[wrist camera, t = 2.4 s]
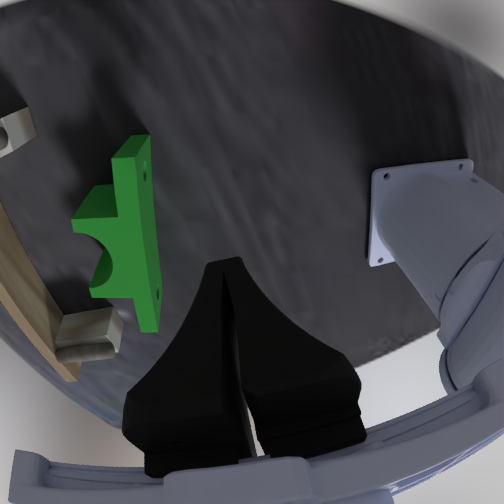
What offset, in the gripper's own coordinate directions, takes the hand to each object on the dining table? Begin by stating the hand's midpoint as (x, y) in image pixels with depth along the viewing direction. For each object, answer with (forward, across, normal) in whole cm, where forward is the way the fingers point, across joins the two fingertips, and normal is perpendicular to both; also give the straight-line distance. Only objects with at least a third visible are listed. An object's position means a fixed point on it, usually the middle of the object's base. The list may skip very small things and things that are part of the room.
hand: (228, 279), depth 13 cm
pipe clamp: (+8, +6, 0) cm, 10 cm away
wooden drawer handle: (+8, +13, 0) cm, 15 cm away
